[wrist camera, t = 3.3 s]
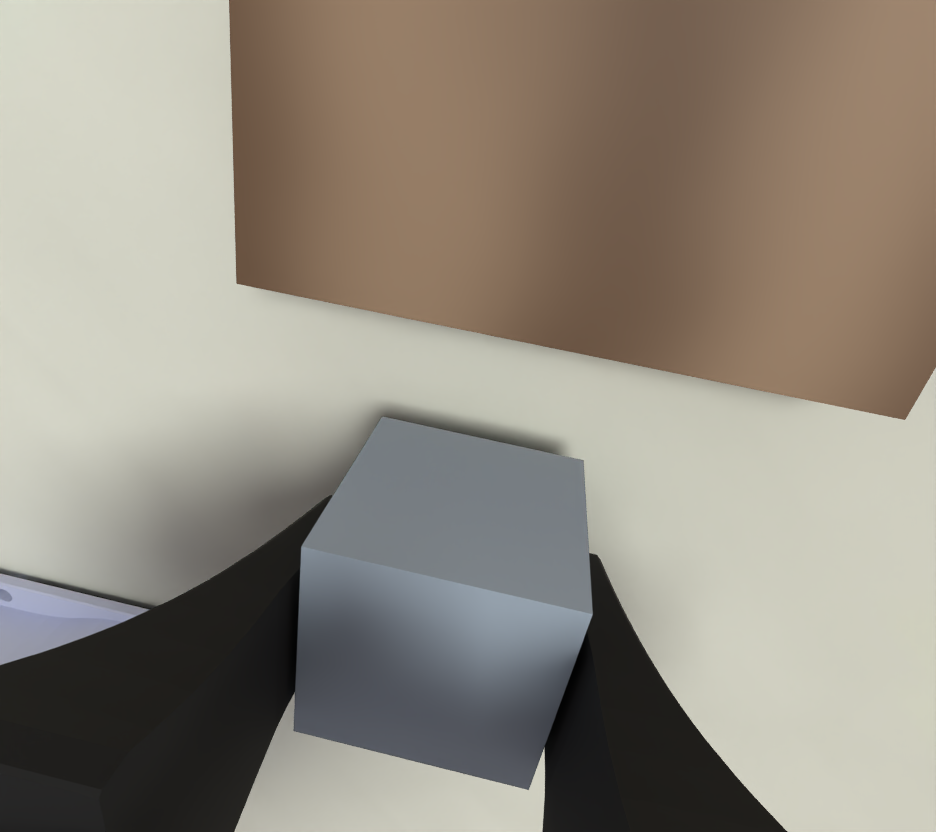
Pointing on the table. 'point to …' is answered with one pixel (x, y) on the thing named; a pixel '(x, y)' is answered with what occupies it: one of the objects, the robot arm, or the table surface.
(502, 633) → the slate cube
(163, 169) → the table surface
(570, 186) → the walnut base
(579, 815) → the robot arm
